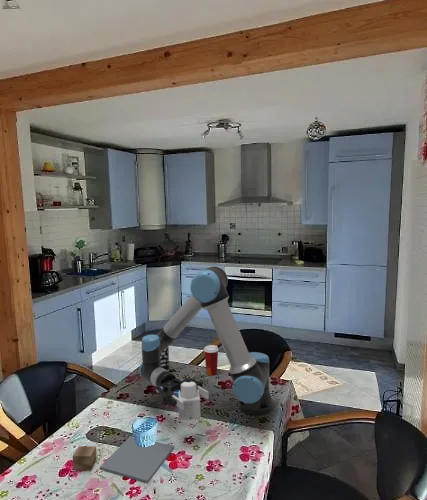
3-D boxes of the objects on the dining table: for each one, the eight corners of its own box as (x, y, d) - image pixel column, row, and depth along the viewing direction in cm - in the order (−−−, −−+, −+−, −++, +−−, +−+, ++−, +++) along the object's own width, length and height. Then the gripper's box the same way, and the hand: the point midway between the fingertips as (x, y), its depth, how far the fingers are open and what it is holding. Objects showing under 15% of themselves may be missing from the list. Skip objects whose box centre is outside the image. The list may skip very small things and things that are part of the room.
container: (179, 409, 136) (178, 376, 135) (199, 408, 137) (198, 375, 136) (179, 421, 128) (177, 386, 127) (200, 419, 129) (199, 384, 128)
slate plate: (174, 448, 128) (174, 446, 128) (147, 483, 111) (147, 480, 111) (131, 437, 135) (131, 435, 134) (99, 469, 118) (99, 466, 118)
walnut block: (96, 460, 122) (96, 446, 122) (91, 470, 117) (90, 456, 117) (79, 460, 123) (78, 446, 122) (73, 470, 118) (72, 456, 117)
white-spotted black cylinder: (171, 371, 192) (171, 334, 191) (164, 377, 185) (163, 339, 183) (157, 369, 195) (157, 333, 193) (150, 375, 187) (149, 338, 185)
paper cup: (219, 370, 193) (219, 345, 191) (218, 376, 185) (217, 350, 184) (204, 369, 193) (204, 344, 192) (203, 376, 186) (202, 349, 185)
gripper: (187, 380, 153) (220, 399, 136) (138, 398, 139) (168, 422, 122) (186, 363, 153) (219, 380, 136) (137, 379, 138) (167, 401, 121)
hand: (195, 400), depth 129 cm, fingers closed on container, 10 cm apart
